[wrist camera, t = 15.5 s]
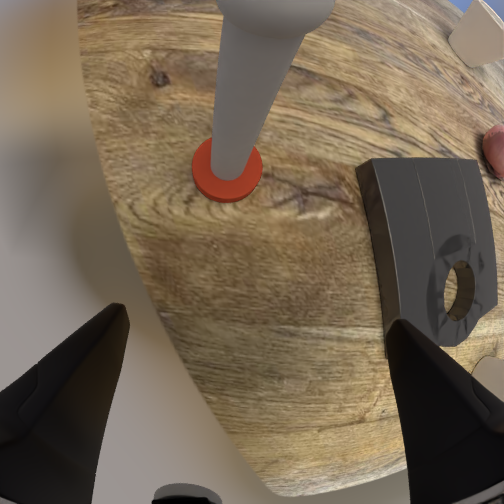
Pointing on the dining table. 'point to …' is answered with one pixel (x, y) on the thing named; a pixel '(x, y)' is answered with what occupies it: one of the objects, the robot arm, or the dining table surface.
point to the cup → (478, 36)
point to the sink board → (430, 242)
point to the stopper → (249, 87)
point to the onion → (494, 150)
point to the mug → (491, 375)
